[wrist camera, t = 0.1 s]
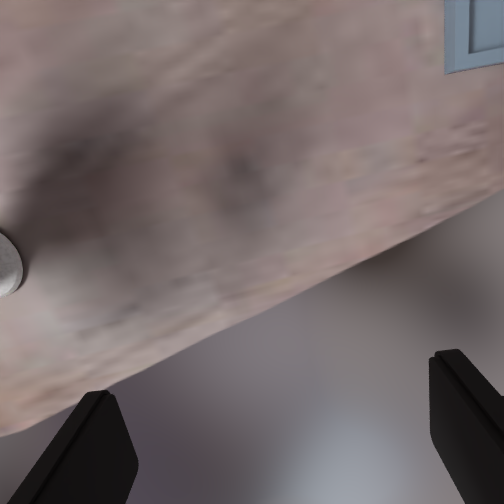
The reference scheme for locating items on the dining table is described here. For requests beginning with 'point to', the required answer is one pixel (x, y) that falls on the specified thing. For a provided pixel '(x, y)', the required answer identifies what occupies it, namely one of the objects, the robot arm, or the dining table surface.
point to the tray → (473, 34)
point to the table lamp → (9, 267)
